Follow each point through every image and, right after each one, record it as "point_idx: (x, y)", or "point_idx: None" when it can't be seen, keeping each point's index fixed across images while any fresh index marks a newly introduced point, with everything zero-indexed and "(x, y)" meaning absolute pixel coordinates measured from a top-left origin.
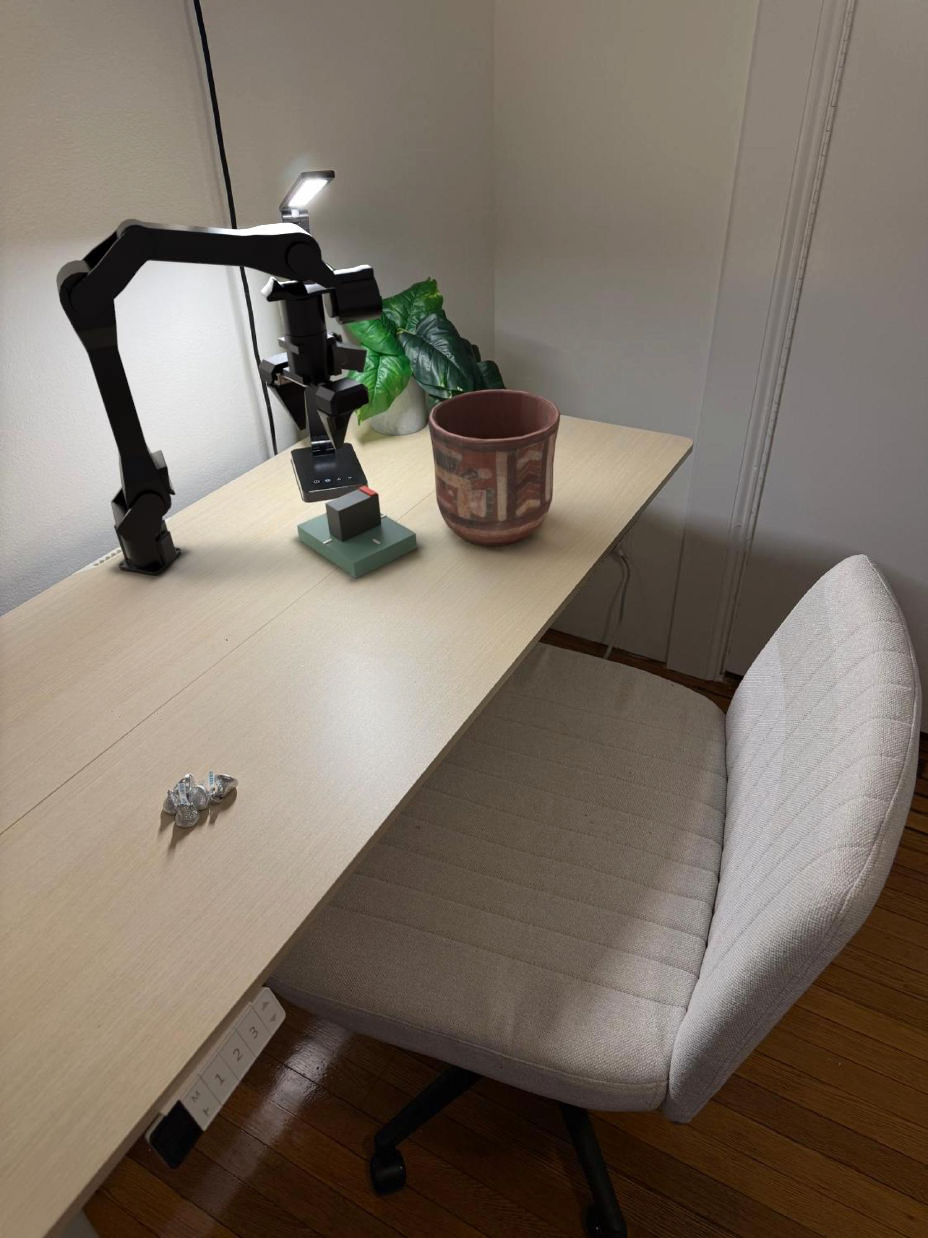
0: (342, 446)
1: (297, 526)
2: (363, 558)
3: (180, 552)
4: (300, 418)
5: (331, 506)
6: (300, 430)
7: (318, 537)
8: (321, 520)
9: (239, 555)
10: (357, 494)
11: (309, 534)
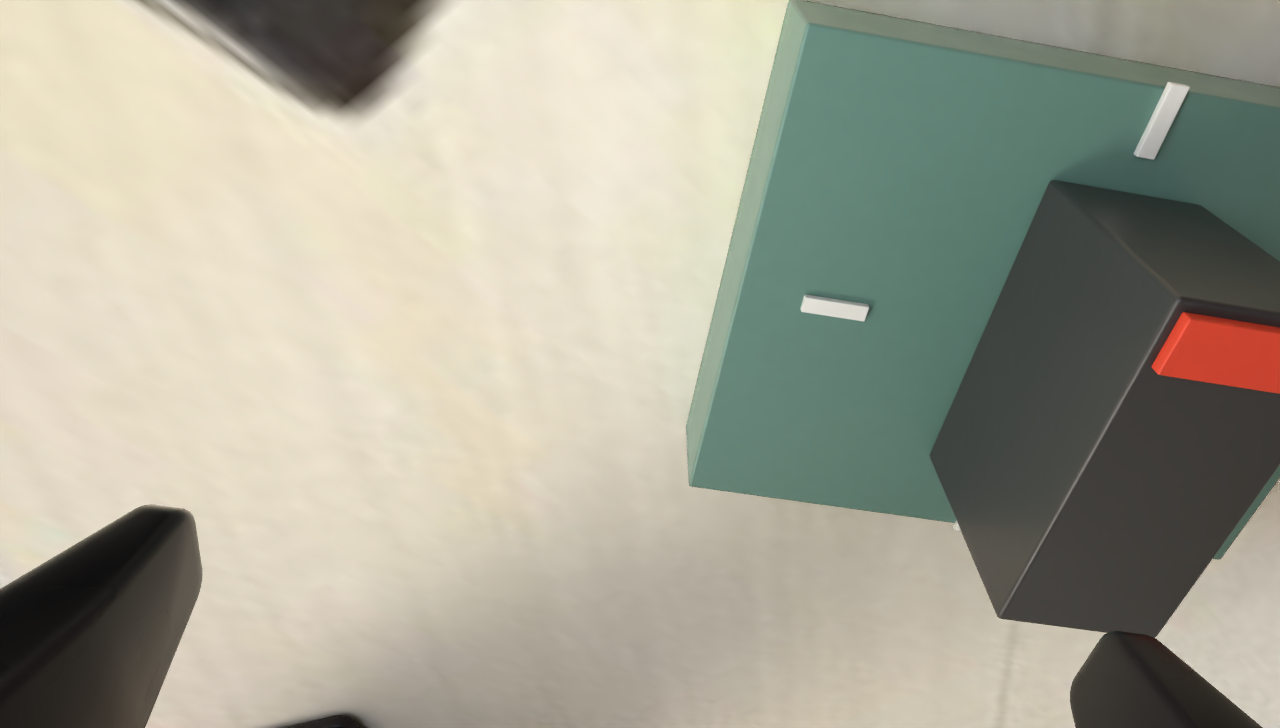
0: (1162, 654)
1: (694, 484)
2: (1253, 511)
3: (354, 724)
4: (92, 719)
5: (1070, 624)
6: (200, 578)
7: (890, 503)
8: (779, 383)
9: (555, 625)
10: (1182, 432)
11: (817, 502)
